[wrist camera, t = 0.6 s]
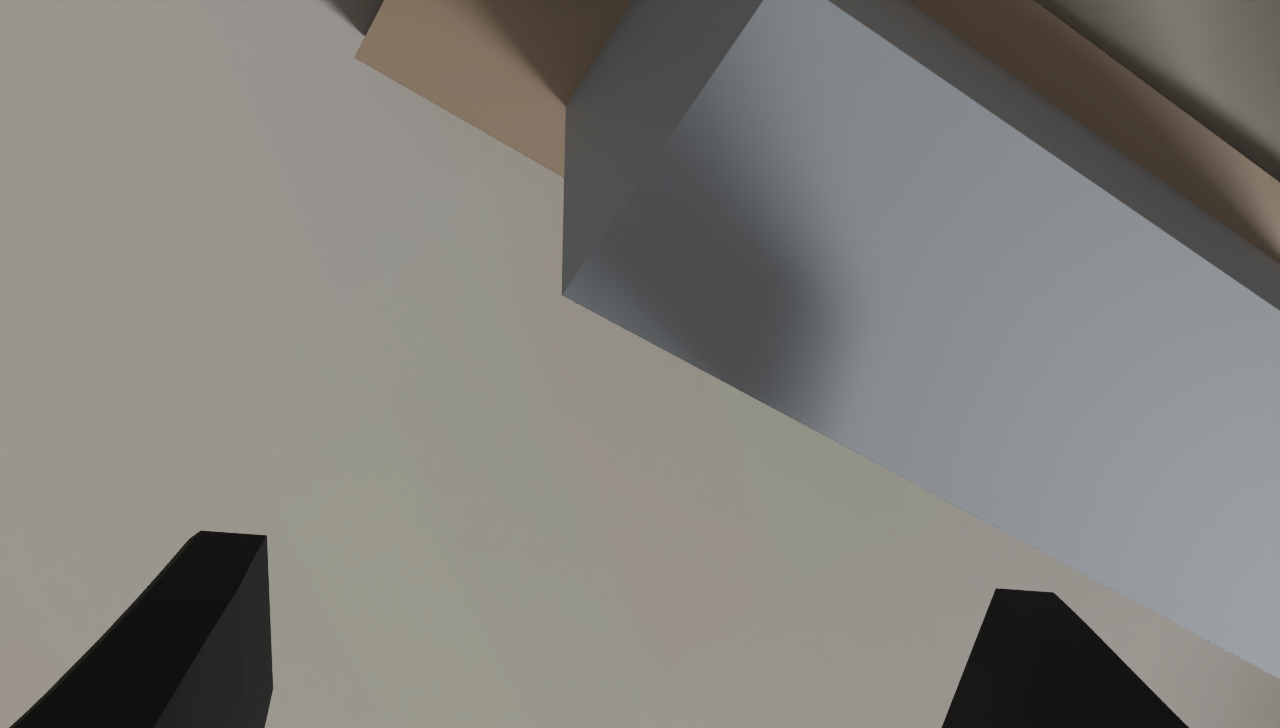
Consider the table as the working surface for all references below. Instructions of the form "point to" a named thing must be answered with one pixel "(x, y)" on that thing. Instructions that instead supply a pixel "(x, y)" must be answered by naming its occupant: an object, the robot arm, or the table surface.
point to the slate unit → (920, 255)
